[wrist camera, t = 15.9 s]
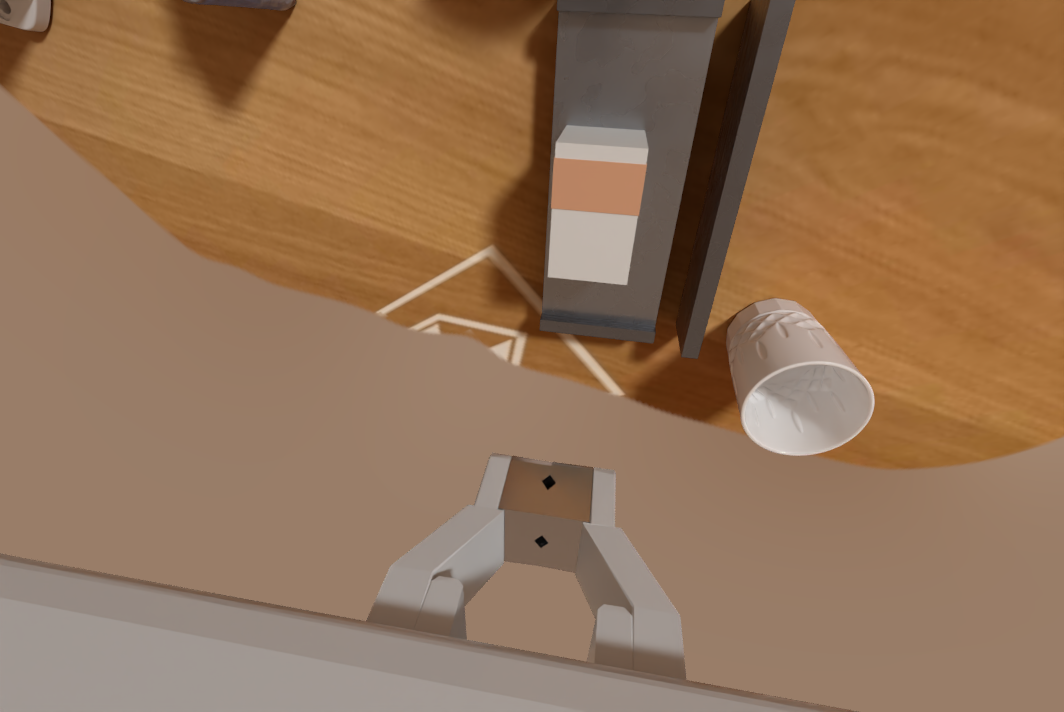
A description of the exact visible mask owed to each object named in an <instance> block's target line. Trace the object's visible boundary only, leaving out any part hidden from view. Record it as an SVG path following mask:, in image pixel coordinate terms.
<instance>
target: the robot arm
mask: <svg viewBox="0 0 1064 712" xmlns="http://www.w3.org/2000/svg"><path fill="white" fill-rule="evenodd" d="M50 8H51V0H0V23H2V24H5V25H9V26H12V27H16V28H19V29H23V30H28V31H37V32H43V31H45V30H46V29H47V27H48V24H49V19H50ZM615 487H616V473H615V471H614V470H610V469H601V468H595V467H594V468H593V467H587V466H580V465H572V464H564V463H557V462H547V461H541V460H535V459H529V458H523V457H517V456H509V455H503V454H496V453H492V454H491V455H490V457H489V460H488V463H487V466H486V469H485V472H484V476H483V479H482V482H481V485H480V488H479V491H478V494H477V497H476V501H475V504H474V505H467V506H466V507H465V508H463V509H462V510H461V511H459V512H458V513H457V514H455V515H454V516H453V517H452V518H451V519H449V520H448V521H447V522H445V523H444V524H443V525H442V526H440V527H439V528H438V529H436V530H435V531H434V532H433V533H432V534H430V535H429V536H428V537H426V538H425V539H424V540H423V541H421V542H420V543H419V544H417V545H416V546H415V547H414V548H412V549H411V550H410V551H409V552H407V553H406V554H405V555H404V556H402V557H401V558H400V559H398V560H397V561H396V562H395V563H393V564H392V565H391V566H390V568H389V571H388V573H387V575H386V577H385V580H384V582H383V585H382V586H381V589H380V591H379V593H378V596H377V598H376V600H375V602H374V605H373V607H372V609H371V611H370V614H369V616H368V618H367V620H366V621H361V620H356V619H351V618H346V617H340V616H335V615H329V614H324V613H318V612H313V611H308V610H302V609H297V608H291V607H286V606H280V605H274V604H270V603H264V602H259V601H253V600H248V599H242V598H237V597H232V596H226V595H221V594H215V593H210V592H204V591H199V590H194V589H188V588H183V587H177V586H172V585H167V584H161V583H156V582H151V581H145V580H140V579H134V578H128V577H123V576H118V575H113V574H107V573H102V572H96V571H91V570H85V569H80V568H75V567H69V566H63V565H58V564H53V563H47V562H42V561H36V560H31V559H26V558H21V557H16V556H10V555H6V554H0V712H857V711H851V710H846V709H841V708H836V707H830V706H825V705H819V704H814V703H808V702H803V701H797V700H792V699H787V698H781V697H776V696H770V695H765V694H759V693H754V692H748V691H743V690H738V689H732V688H727V687H721V686H716V685H711V684H705V683H699V682H694V681H689V680H686V671H685V662H684V651H683V640H682V630H681V620H680V615H679V613H678V612H677V610H676V609H675V608H674V606H673V604H672V603H671V601H670V600H669V598H668V597H667V595H666V594H665V593H664V591H663V590H662V588H661V587H660V585H659V584H658V582H657V581H656V579H655V578H654V576H653V575H652V573H651V572H650V570H649V569H648V567H647V566H646V564H645V563H644V561H643V560H642V558H641V557H640V555H639V554H638V552H637V551H636V549H635V548H634V546H633V545H632V544H631V542H630V541H629V539H628V538H627V536H626V535H625V533H624V532H623V530H622V529H621V528H617V527H615ZM504 561H508V562H514V563H521V564H529V565H537V566H542V567H548V568H553V569H558V570H563V571H568V572H574V573H575V575H576V578H577V579H578V582H579V584H580V586H581V588H582V591H583V593H584V595H585V597H586V599H587V602H588V604H589V606H590V608H591V611H592V612H593V615H594V617H595V619H596V620H595V625H594V629H593V635H592V639H591V644H590V648H589V653H588V658H587V662H585V661H580V660H575V659H569V658H564V657H558V656H553V655H547V654H542V653H536V652H531V651H525V650H520V649H514V648H509V647H504V646H498V645H493V644H487V643H482V642H476V641H470V640H467V637H466V622H465V606H466V604H467V603H468V602H469V601H470V600H471V599H472V598H473V597H474V596H475V594H476V593H477V592H478V591H479V590H480V589H481V588H482V587H483V586H484V584H485V583H486V582H487V581H488V580H489V579H490V578H491V577H492V576H493V575H494V573H495V572H496V571H497V570H498V569H499V568H500V567H501V566H502V565H503V563H504Z"/></svg>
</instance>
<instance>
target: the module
mask: <svg viewBox="0 0 1064 712" xmlns="http://www.w3.org/2000/svg"><path fill="white" fill-rule="evenodd" d="M648 150H649V148H648V143H647V138H646V133H645V130H632V129H617V128H602V127H587V126H572V125H566V127H565V129H564V130H563V132H562V133H561V135H560V137H559V138H558V140H557V141H556V148H555V157H554V165H553V182H552V199H551V208H552V214H551V231H550V248H549V264H548V277H552V278H561V279H571V280H581V281H591V282H601V283H611V284H621V285H627V281H628V275H629V269H630V263H631V256H632V250H633V244H634V237H635V231H636V225H637V219H638V216H639V212H640V206H641V200H642V193H643V187H644V181H645V175H646V168H647V163H646V162H647V156H648Z"/></svg>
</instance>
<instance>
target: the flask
mask: <svg viewBox="0 0 1064 712" xmlns="http://www.w3.org/2000/svg"><path fill="white" fill-rule="evenodd" d="M183 1H184V2H188V3H191V4H193V3H195V4H205V5H222V6H236V7H249V8H261V9H271V10H279V11H283V10H288V9H290V8H291V7H292V6H294V5H295V4H296V0H183Z"/></svg>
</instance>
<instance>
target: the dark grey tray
mask: <svg viewBox="0 0 1064 712" xmlns="http://www.w3.org/2000/svg"><path fill="white" fill-rule="evenodd" d="M724 1H725V0H557V11H559V17H558V35H557V53H556V71H555V89H554V107H553V125H552V143H551V161H550V179H549V197H548V215H547V233H546V251H545V269H544V287H543V305H542V315H541V319H540V331H549V332H557V333H566V334H575V335H584V336H592V337H601V338H610V339H619V340H627V341H636V342H645V343H654V338H655V333H656V331H655V324H656V319H657V314H658V309H659V304H660V300H661V295H662V290H663V285H664V280H665V275H666V270H667V265H668V260H669V256H670V251H671V246H672V241H673V236H674V231H675V226H676V221H677V217H678V212H679V207H680V202H681V197H682V192H683V187H684V182H685V178H686V173H687V168H688V163H689V158H690V153H691V148H692V143H693V138H694V134H695V129H696V124H697V119H698V114H699V109H700V104H701V99H702V95H703V90H704V85H705V80H706V75H707V70H708V65H709V60H710V56H711V51H712V46H713V41H714V36H715V31H716V26H717V21H718V18H719V17H721V15H722V11H723V6H724ZM794 4H795V0H751V1H750V6H749V10H748V14H747V19H746V23H745V27H744V32H743V36H742V40H741V45H740V49H739V53H738V57H737V62H736V66H735V70H734V75H733V79H732V83H731V88H730V92H729V96H728V101H727V105H726V109H725V114H724V118H723V122H722V127H721V131H720V135H719V140H718V144H717V148H716V152H715V157H714V161H713V165H712V170H711V174H710V178H709V183H708V187H707V191H706V196H705V200H704V204H703V209H702V213H701V217H700V222H699V226H698V230H697V235H696V239H695V243H694V247H693V252H692V256H691V260H690V265H689V269H688V273H687V278H686V282H685V286H684V291H683V295H682V299H681V304H680V308H679V312H678V317H677V321H676V329H677V335H678V341H679V346H680V352H681V357H686V358H695V359H698V356H699V352H700V348H701V345H702V341H703V337H704V334H705V330H706V326H707V323H708V319H709V315H710V312H711V308H712V304H713V301H714V297H715V293H716V290H717V286H718V282H719V279H720V275H721V271H722V268H723V264H724V260H725V257H726V253H727V249H728V246H729V242H730V238H731V235H732V231H733V227H734V224H735V220H736V216H737V213H738V209H739V205H740V202H741V198H742V194H743V191H744V187H745V183H746V180H747V176H748V172H749V169H750V165H751V161H752V158H753V154H754V150H755V147H756V143H757V139H758V136H759V132H760V128H761V125H762V121H763V117H764V114H765V110H766V106H767V103H768V99H769V95H770V92H771V88H772V84H773V81H774V77H775V73H776V70H777V66H778V62H779V59H780V55H781V51H782V48H783V44H784V40H785V37H786V33H787V29H788V26H789V22H790V18H791V15H792V11H793V7H794ZM566 125H572V126H587V127H602V128H617V129H632V130H645V133H646V138H647V143H648V148H649V150H648V156H647V162H646V163H647V168H646V175H645V181H644V187H643V193H642V200H641V206H640V212H639V216H638V219H637V225H636V231H635V237H634V244H633V250H632V256H631V263H630V269H629V275H628V281H627V285H621V284H611V283H601V282H591V281H581V280H571V279H561V278H552V277H548V264H549V248H550V231H551V214H552V208H551V199H552V182H553V165H554V157H555V148H556V141H557V140H558V138H559V137H560V135H561V133H562V132H563V130H564V129H565V127H566Z"/></svg>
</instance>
